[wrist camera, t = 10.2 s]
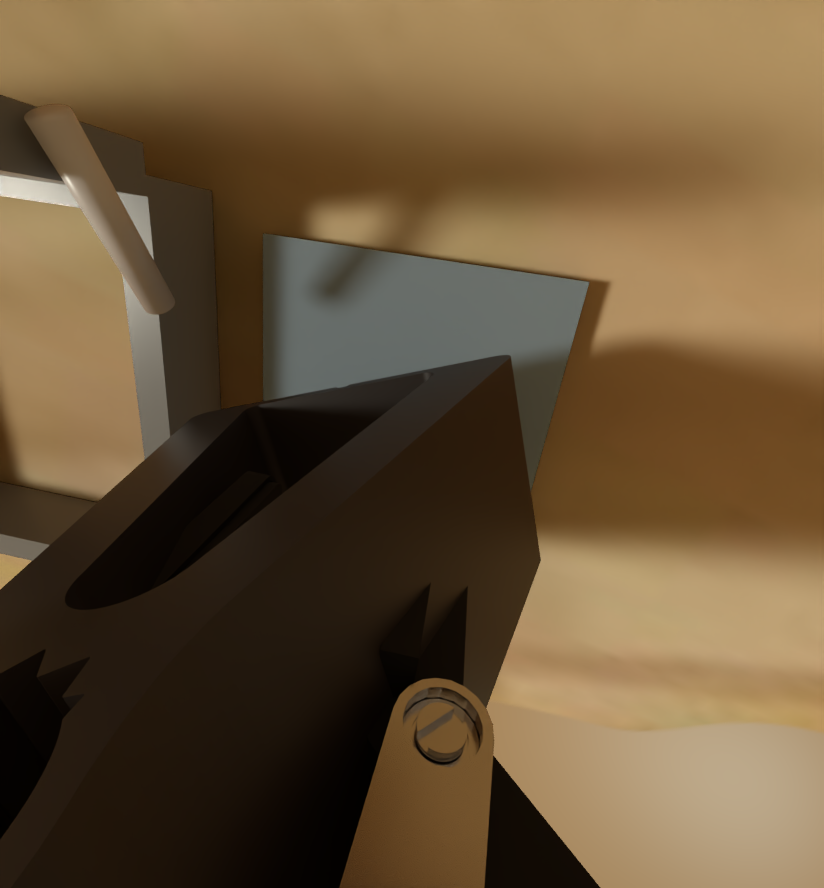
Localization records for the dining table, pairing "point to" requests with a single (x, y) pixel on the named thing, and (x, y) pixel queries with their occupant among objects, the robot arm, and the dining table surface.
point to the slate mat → (412, 323)
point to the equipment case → (144, 276)
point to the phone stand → (253, 633)
